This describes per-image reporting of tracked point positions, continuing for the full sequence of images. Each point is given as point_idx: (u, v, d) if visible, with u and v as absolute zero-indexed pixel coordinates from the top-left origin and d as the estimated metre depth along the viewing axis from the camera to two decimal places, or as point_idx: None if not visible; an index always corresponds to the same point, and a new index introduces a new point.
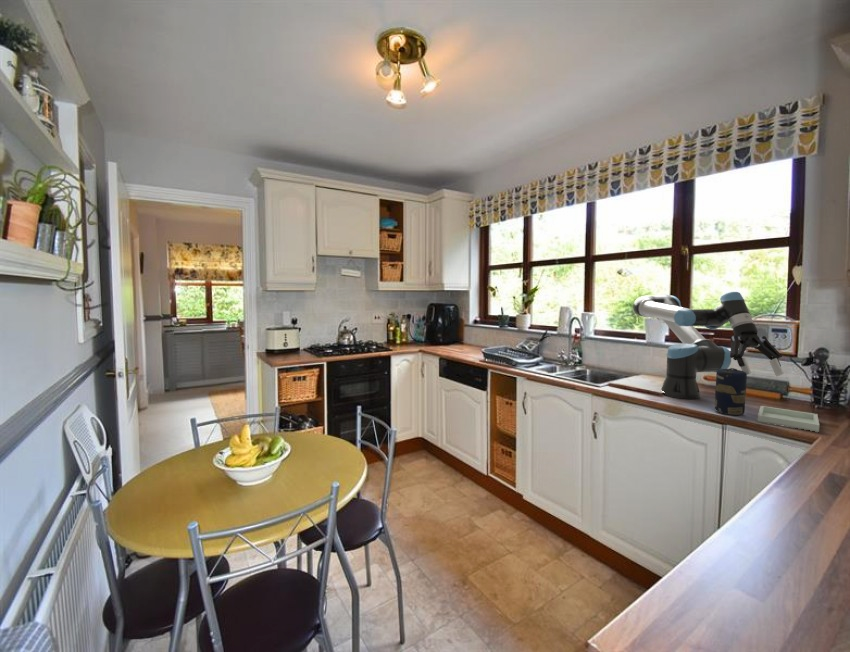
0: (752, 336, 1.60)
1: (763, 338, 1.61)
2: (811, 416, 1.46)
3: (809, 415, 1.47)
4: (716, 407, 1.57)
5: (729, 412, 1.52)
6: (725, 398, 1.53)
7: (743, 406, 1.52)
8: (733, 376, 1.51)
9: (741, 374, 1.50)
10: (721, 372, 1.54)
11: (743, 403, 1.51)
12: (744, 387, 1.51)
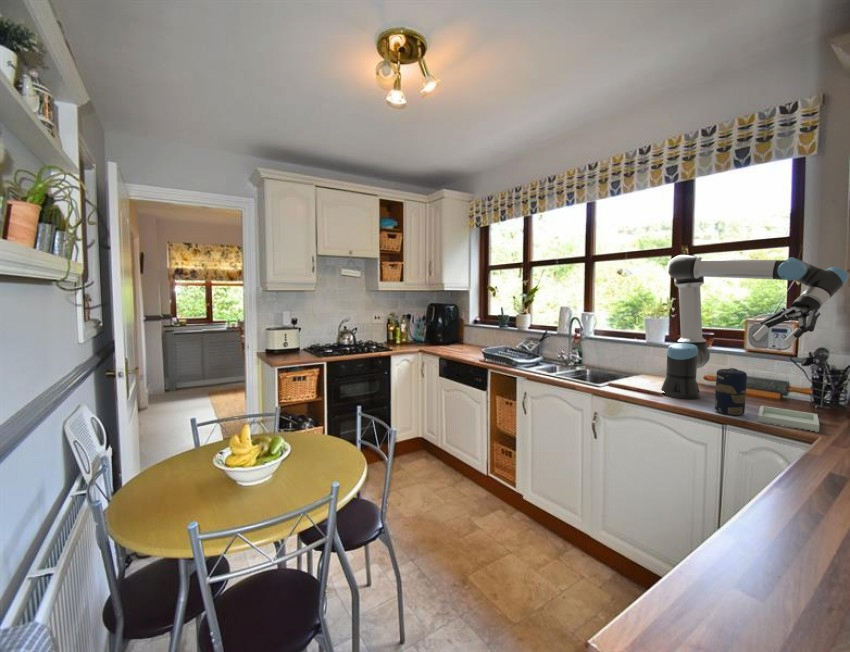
0: None
1: None
2: (811, 416, 1.46)
3: (809, 415, 1.47)
4: (716, 407, 1.57)
5: (729, 412, 1.52)
6: (725, 398, 1.53)
7: (743, 406, 1.52)
8: (733, 376, 1.51)
9: (741, 374, 1.50)
10: (721, 372, 1.54)
11: (743, 403, 1.51)
12: (744, 387, 1.51)
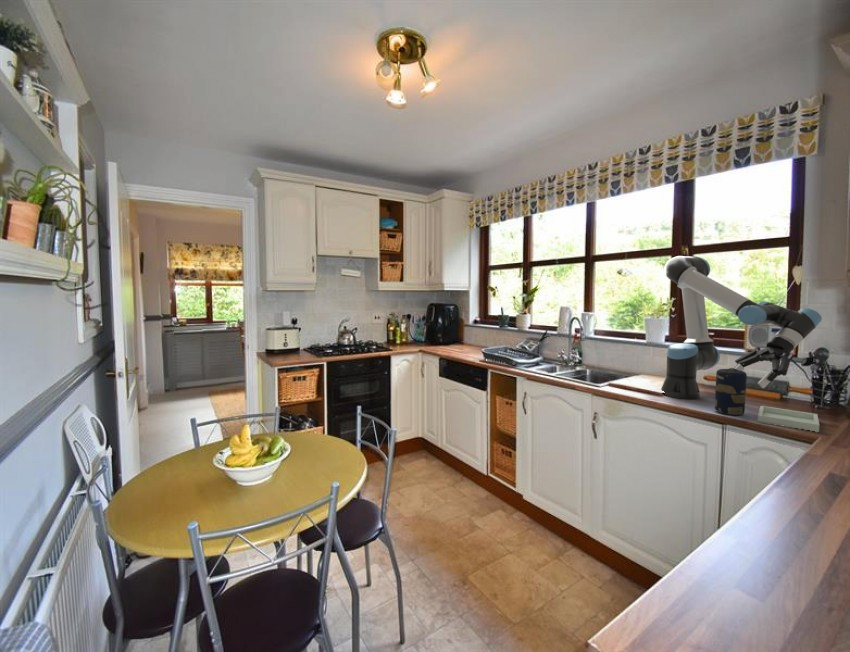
0: None
1: None
2: (811, 416, 1.46)
3: (809, 415, 1.47)
4: (716, 407, 1.57)
5: (729, 412, 1.52)
6: (725, 398, 1.53)
7: (743, 406, 1.52)
8: (733, 376, 1.51)
9: (741, 374, 1.50)
10: (721, 372, 1.54)
11: (743, 403, 1.51)
12: (744, 387, 1.51)
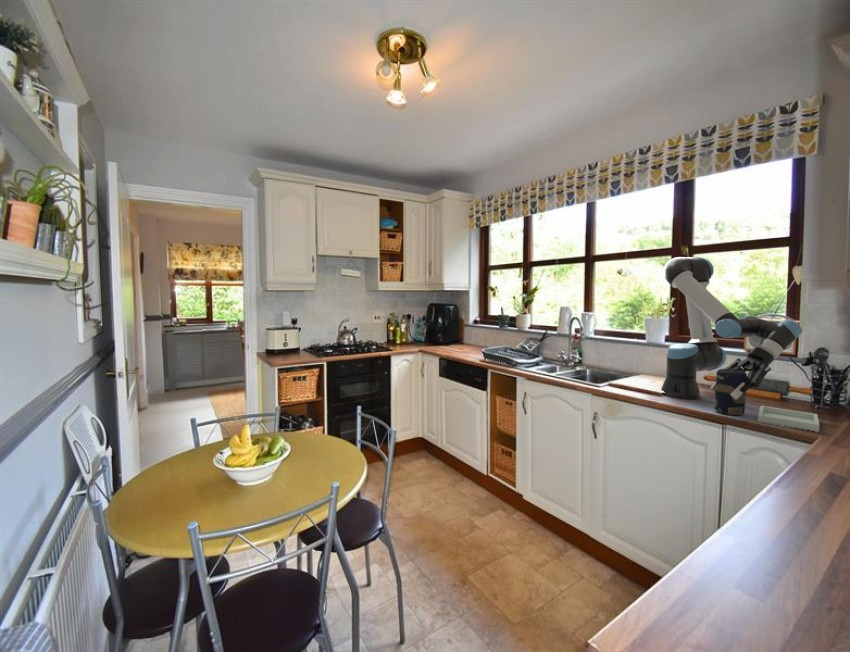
0: None
1: None
2: (811, 416, 1.46)
3: (809, 415, 1.47)
4: (716, 407, 1.57)
5: (729, 412, 1.52)
6: (725, 398, 1.53)
7: (743, 406, 1.52)
8: (733, 376, 1.51)
9: (741, 374, 1.50)
10: (721, 372, 1.54)
11: (743, 403, 1.51)
12: None
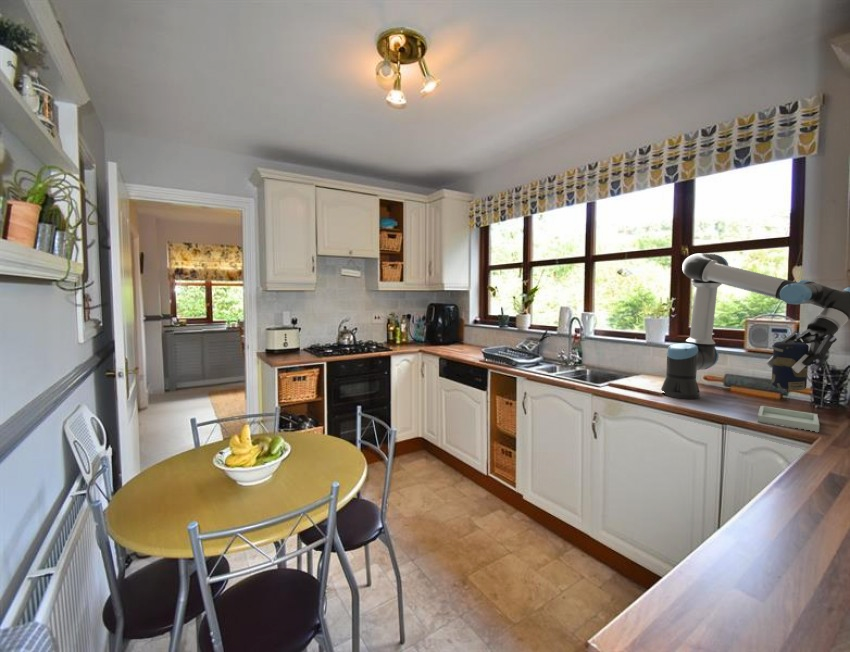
0: None
1: (800, 336, 1.49)
2: (811, 416, 1.46)
3: (809, 415, 1.47)
4: (774, 382, 1.45)
5: (790, 387, 1.41)
6: (785, 372, 1.41)
7: (805, 380, 1.40)
8: (794, 348, 1.39)
9: (803, 345, 1.39)
10: (780, 344, 1.43)
11: (805, 377, 1.40)
12: None
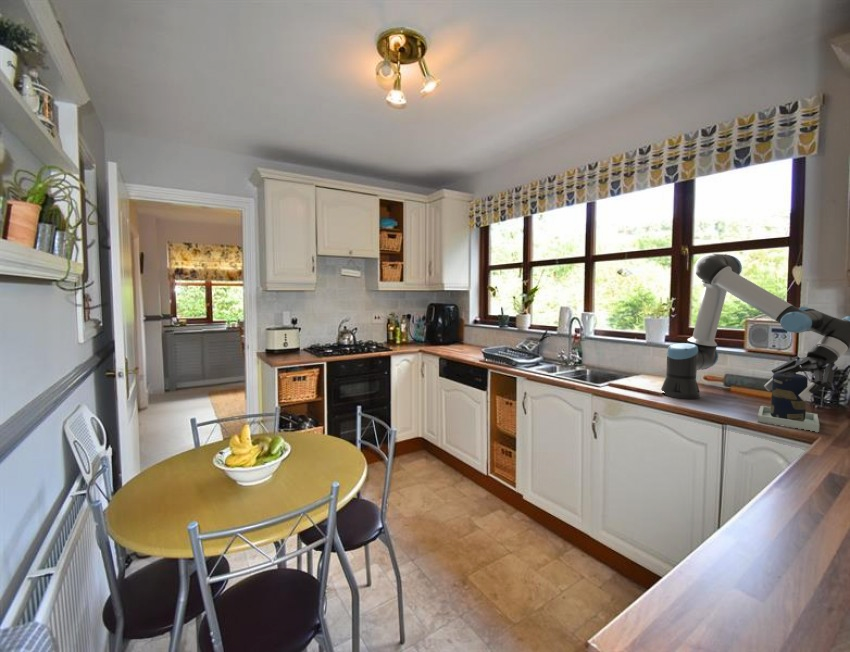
0: None
1: None
2: (811, 416, 1.46)
3: (809, 415, 1.47)
4: (773, 413, 1.46)
5: (789, 419, 1.42)
6: (784, 404, 1.42)
7: (804, 412, 1.41)
8: (793, 381, 1.40)
9: (802, 378, 1.40)
10: (779, 376, 1.44)
11: (804, 409, 1.41)
12: None
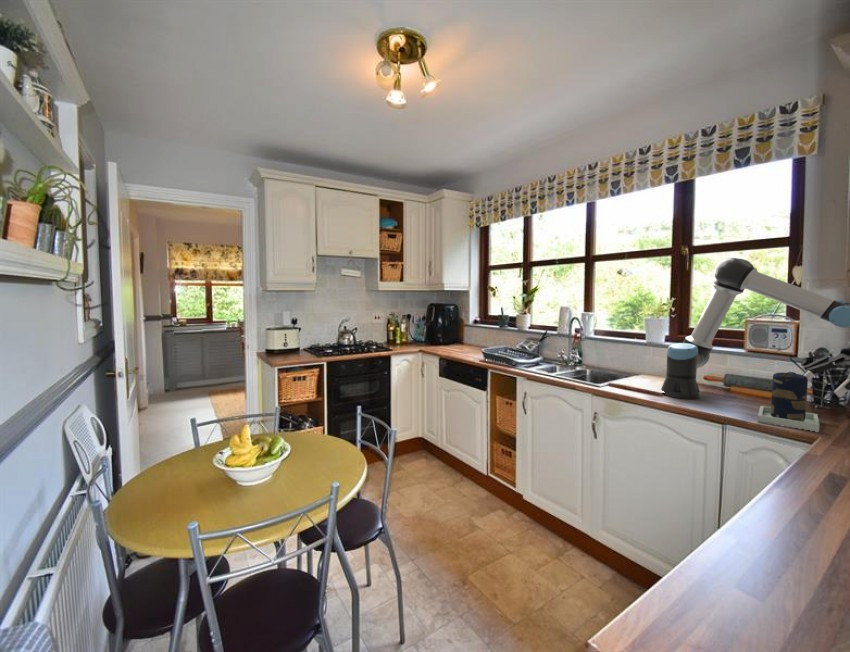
0: None
1: (833, 359, 1.50)
2: (811, 416, 1.46)
3: (809, 415, 1.47)
4: (773, 413, 1.46)
5: (789, 419, 1.42)
6: (784, 404, 1.42)
7: (804, 412, 1.41)
8: (793, 381, 1.40)
9: (802, 378, 1.40)
10: (779, 376, 1.44)
11: (804, 409, 1.41)
12: (805, 392, 1.41)
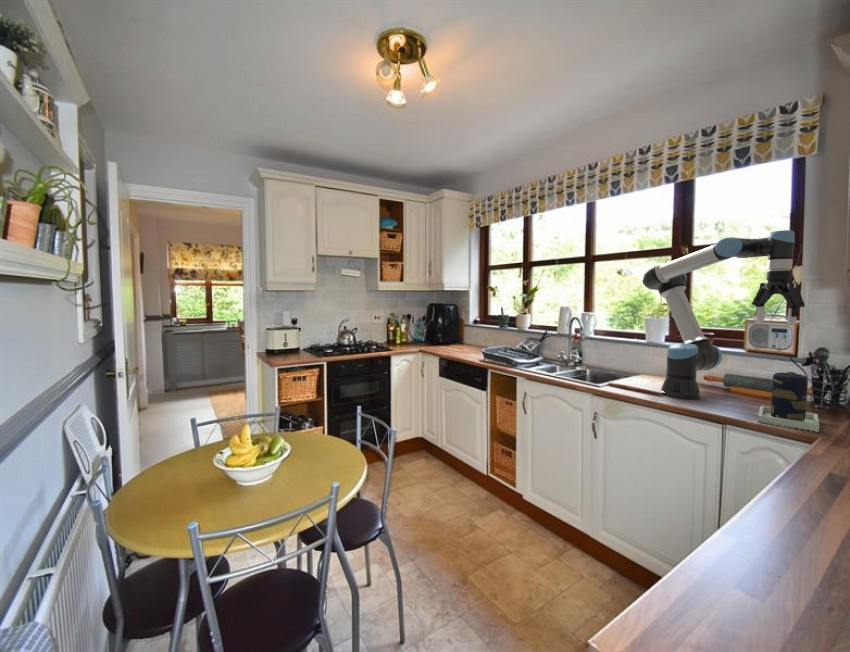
0: None
1: None
2: (811, 416, 1.46)
3: (809, 415, 1.47)
4: (773, 413, 1.46)
5: (789, 419, 1.42)
6: (784, 404, 1.42)
7: (804, 413, 1.41)
8: (794, 381, 1.40)
9: (802, 378, 1.40)
10: (779, 376, 1.44)
11: (804, 409, 1.41)
12: (805, 392, 1.41)
